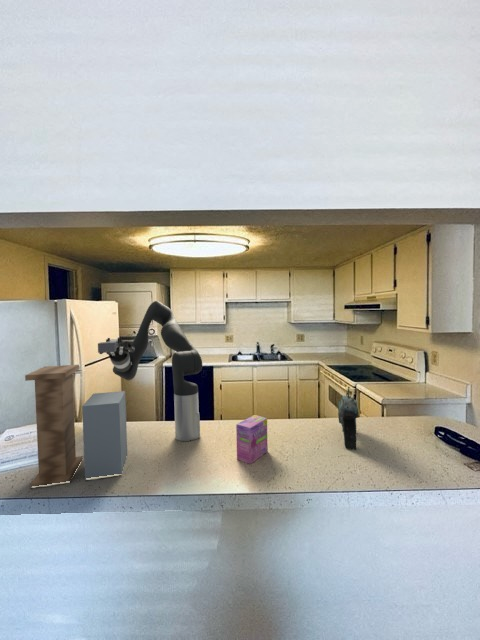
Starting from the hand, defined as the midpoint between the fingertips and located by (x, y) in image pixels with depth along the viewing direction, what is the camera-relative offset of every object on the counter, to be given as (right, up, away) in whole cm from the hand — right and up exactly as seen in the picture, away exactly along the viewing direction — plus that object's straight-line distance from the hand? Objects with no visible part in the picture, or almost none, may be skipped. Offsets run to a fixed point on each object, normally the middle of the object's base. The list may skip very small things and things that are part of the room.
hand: (113, 340), depth 113 cm
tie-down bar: (+1, -3, -4) cm, 5 cm away
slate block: (+6, -39, -18) cm, 43 cm away
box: (+52, -38, -12) cm, 65 cm away
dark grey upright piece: (+87, -37, -2) cm, 95 cm away
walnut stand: (-8, -39, -21) cm, 45 cm away
